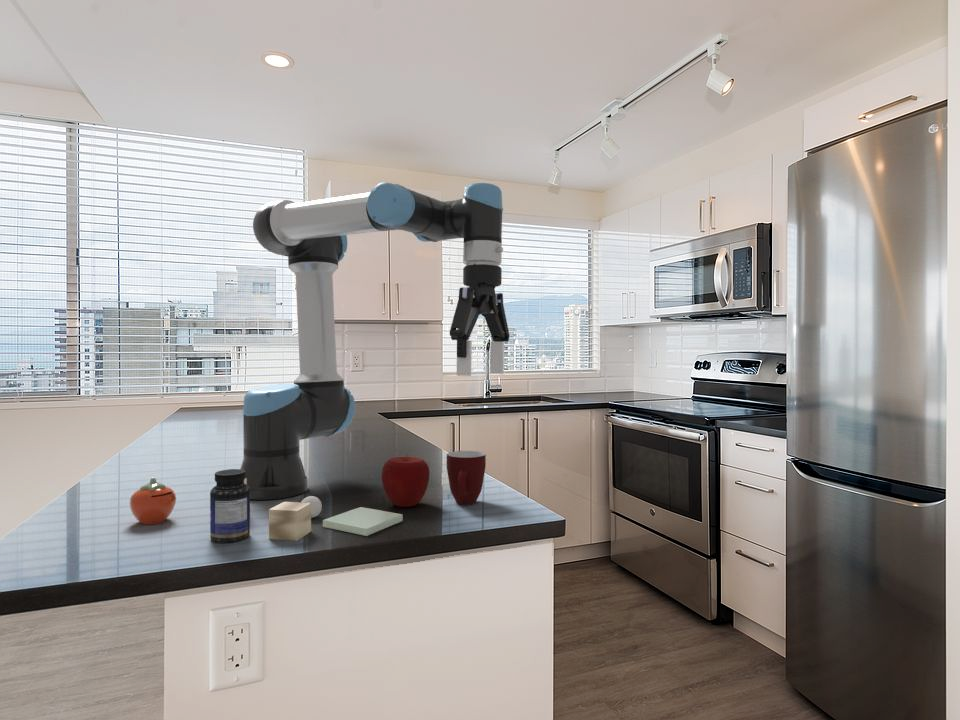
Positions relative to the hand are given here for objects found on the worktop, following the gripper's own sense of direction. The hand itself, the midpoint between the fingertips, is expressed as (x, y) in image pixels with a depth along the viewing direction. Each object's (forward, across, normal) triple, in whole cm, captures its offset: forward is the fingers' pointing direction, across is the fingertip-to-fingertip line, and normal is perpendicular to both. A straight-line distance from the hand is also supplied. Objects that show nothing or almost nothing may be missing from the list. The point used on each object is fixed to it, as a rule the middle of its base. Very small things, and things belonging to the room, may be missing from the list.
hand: (481, 374), depth 113 cm
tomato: (+27, -36, +48) cm, 66 cm away
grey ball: (+27, -20, +25) cm, 42 cm away
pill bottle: (+27, -35, +28) cm, 53 cm away
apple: (+27, -4, +15) cm, 31 cm away
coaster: (+27, -18, +14) cm, 35 cm away
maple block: (+27, -29, +21) cm, 45 cm away
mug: (+27, +2, +4) cm, 27 cm away
